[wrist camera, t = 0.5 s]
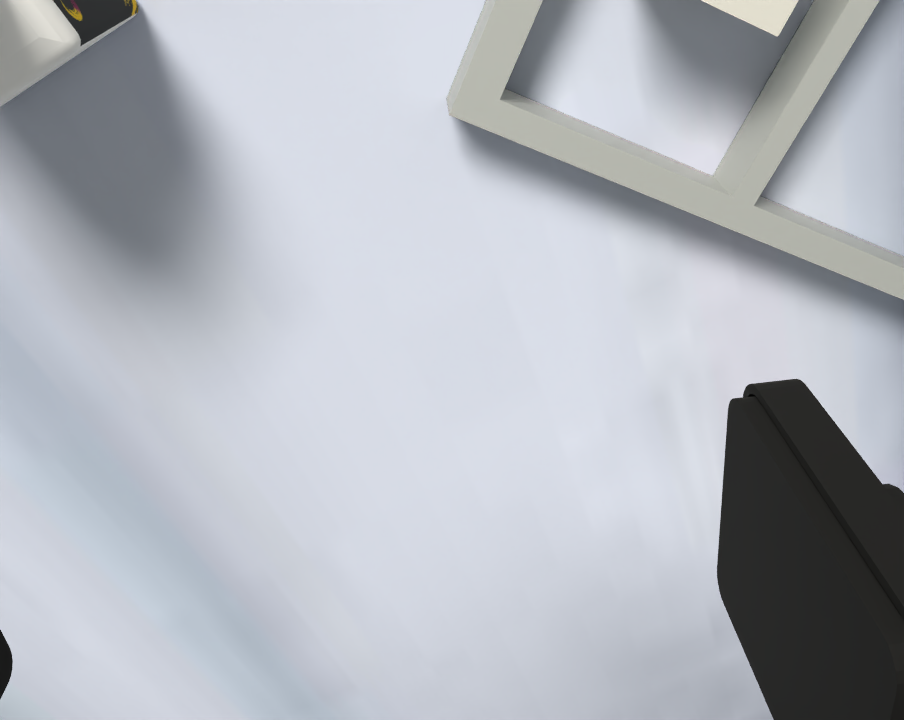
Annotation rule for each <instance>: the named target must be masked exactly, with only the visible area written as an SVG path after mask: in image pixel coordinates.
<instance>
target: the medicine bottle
mask: <svg viewBox="0 0 904 720" xmlns="http://www.w3.org/2000/svg"><path fill="white" fill-rule="evenodd" d="M137 13H138V4H137V2H136V0H0V107H1V106H3V105H4V104H6V103H7V102H9V101H10V100H12V99H13V98H15V97H16V96H18V95H19V94H21V93H22V92H23V91H25V90H26V89H28V88H29V87H31V86H32V85H34V84H35V83H37V82H38V81H40V80H41V79H43V78H44V77H46V76H47V75H49V74H50V73H52V72H53V71H55V70H56V69H58V68H59V67H61V66H62V65H63V64H65V63H66V62H68V61H69V60H71V59H72V58H74V57H75V56H77V55H78V54H80V53H81V52H83V51H84V50H86V49H87V48H89V47H90V46H92V45H93V44H95V43H96V42H98V41H99V40H101V39H102V38H103V37H105V36H106V35H108V34H109V33H111V32H112V31H114V30H115V29H117V28H118V27H120V26H121V25H123V24H124V23H126V22H127V21H129V20H130V19H132V18H133V17H135V15H136V14H137Z"/></svg>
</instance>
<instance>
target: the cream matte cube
mask: <svg viewBox="0 0 904 720" xmlns="http://www.w3.org/2000/svg"><path fill="white" fill-rule="evenodd" d="M701 1H703V2H705V3H707V4H710V5H712V6H714V7H716V8H718V9H720V10H722V11H724V12H726V13H728V14H731V15H733V16H735V17H737V18H739V19H741V20H743V21H745V22H747V23H750V24H752V25H754V26H756V27H758V28H760V29H762V30H764V31H766V32H769V33H771V34H773V35H775V36H777V37H778V36H779V34H780V32H781V30H782V29H783V27H784V25H785V23H786V22H787V20H788V18H789V16H790V15H791V13H792V11H793V9H794V8H795V6H796V4H797V2H798V1H799V0H701Z"/></svg>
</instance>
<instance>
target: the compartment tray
mask: <svg viewBox="0 0 904 720" xmlns="http://www.w3.org/2000/svg"><path fill="white" fill-rule="evenodd" d="M542 1H543V0H486V2H485V4H484V7H483V9H482V12H481V14H480V17H479V19H478V22H477V24H476V26H475V29H474V31H473V34H472V36H471V39H470V41H469V44H468V46H467V49H466V51H465V54H464V56H463V59H462V61H461V64H460V66H459V69H458V71H457V74H456V76H455V78H454V81H453V83H452V86H451V88H450V91H449V93H448V96H447V98H446V99H447V105H448V111H449V115H450V116H453V117H455V118H457V119H460V120H462V121H465V122H467V123H470V124H472V125H475V126H477V127H480V128H482V129H485V130H487V131H489V132H492V133H494V134H497V135H499V136H502V137H504V138H507V139H509V140H512V141H514V142H517V143H519V144H521V145H524V146H526V147H529V148H531V149H534V150H536V151H539V152H541V153H544V154H546V155H548V156H551V157H553V158H556V159H558V160H561V161H563V162H566V163H568V164H571V165H573V166H576V167H578V168H580V169H583V170H585V171H588V172H590V173H593V174H595V175H598V176H600V177H603V178H605V179H608V180H610V181H612V182H615V183H617V184H620V185H622V186H625V187H627V188H630V189H632V190H635V191H637V192H639V193H642V194H644V195H647V196H649V197H652V198H654V199H657V200H659V201H662V202H664V203H667V204H669V205H671V206H674V207H676V208H679V209H681V210H684V211H686V212H689V213H691V214H694V215H696V216H699V217H701V218H703V219H706V220H708V221H711V222H713V223H716V224H718V225H721V226H723V227H726V228H728V229H730V230H733V231H735V232H738V233H740V234H743V235H745V236H748V237H750V238H753V239H755V240H758V241H760V242H762V243H765V244H767V245H770V246H772V247H775V248H777V249H780V250H782V251H785V252H787V253H790V254H792V255H794V256H797V257H799V258H802V259H804V260H807V261H809V262H812V263H814V264H817V265H819V266H821V267H824V268H826V269H829V270H831V271H834V272H836V273H839V274H841V275H844V276H846V277H849V278H851V279H853V280H856V281H858V282H861V283H863V284H866V285H868V286H871V287H873V288H876V289H878V290H881V291H883V292H885V293H888V294H890V295H893V296H895V297H898V298H900V299H903V300H904V257H903V256H901V255H899V254H896V253H894V252H892V251H889V250H887V249H884V248H882V247H880V246H877V245H875V244H873V243H870V242H868V241H865V240H863V239H861V238H858V237H856V236H854V235H851V234H849V233H846V232H844V231H842V230H839V229H837V228H835V227H832V226H830V225H827V224H825V223H823V222H820V221H818V220H816V219H813V218H811V217H808V216H806V215H804V214H801V213H799V212H797V211H794V210H792V209H789V208H787V207H785V206H782V205H780V204H778V203H775V202H773V201H770V200H768V199H766V198H763V197H761V196H760V195H761V193H762V191H763V190H764V188H765V186H766V185H767V183H768V182H769V180H770V178H771V177H772V175H773V173H774V172H775V170H776V169H777V167H778V165H779V164H780V162H781V160H782V159H783V157H784V155H785V154H786V152H787V151H788V149H789V147H790V146H791V144H792V142H793V141H794V139H795V138H796V136H797V134H798V133H799V131H800V129H801V128H802V126H803V124H804V123H805V121H806V120H807V118H808V116H809V115H810V113H811V111H812V110H813V108H814V106H815V105H816V103H817V102H818V100H819V98H820V97H821V95H822V93H823V92H824V90H825V89H826V87H827V85H828V84H829V82H830V80H831V79H832V77H833V75H834V74H835V72H836V71H837V69H838V67H839V66H840V64H841V62H842V61H843V59H844V58H845V56H846V54H847V53H848V51H849V49H850V48H851V46H852V44H853V43H854V41H855V40H856V38H857V36H858V35H859V33H860V31H861V30H862V28H863V27H864V25H865V23H866V22H867V20H868V18H869V17H870V15H871V13H872V12H873V10H874V9H875V7H876V5H877V4H878V2H879V0H814V2H813V3H812V5H811V7H810V9H809V10H808V12H807V14H806V16H805V17H804V19H803V21H802V22H801V24H800V26H799V28H798V29H797V31H796V33H795V35H794V36H793V38H792V40H791V41H790V43H789V45H788V47H787V48H786V50H785V52H784V54H783V55H782V57H781V59H780V61H779V62H778V64H777V66H776V67H775V69H774V71H773V73H772V74H771V76H770V78H769V80H768V81H767V83H766V85H765V86H764V88H763V90H762V92H761V93H760V95H759V97H758V99H757V100H756V102H755V104H754V105H753V107H752V109H751V111H750V112H749V114H748V116H747V118H746V119H745V121H744V123H743V125H742V126H741V128H740V130H739V131H738V133H737V135H736V137H735V138H734V140H733V142H732V144H731V145H730V147H729V149H728V150H727V152H726V154H725V156H724V157H723V159H722V161H721V163H720V164H719V166H718V168H717V170H716V171H715V173H714V175H713V176H711V175H709V174H706V173H704V172H702V171H699V170H697V169H694V168H692V167H690V166H687V165H685V164H683V163H680V162H678V161H675V160H673V159H671V158H668V157H666V156H664V155H661V154H659V153H656V152H654V151H652V150H649V149H647V148H645V147H642V146H640V145H637V144H635V143H633V142H630V141H628V140H626V139H623V138H621V137H618V136H616V135H614V134H611V133H609V132H607V131H604V130H602V129H599V128H597V127H595V126H592V125H590V124H588V123H585V122H583V121H580V120H578V119H576V118H573V117H571V116H569V115H566V114H564V113H561V112H559V111H557V110H554V109H552V108H550V107H547V106H545V105H542V104H540V103H538V102H535V101H533V100H531V99H528V98H526V97H523V96H521V95H519V94H516V93H514V92H512V91H509V90H507V89H505V86H506V84H507V82H508V80H509V77H510V75H511V73H512V70H513V68H514V66H515V63H516V61H517V59H518V56H519V54H520V52H521V50H522V47H523V45H524V43H525V40H526V38H527V36H528V33H529V31H530V29H531V27H532V24H533V22H534V20H535V17H536V15H537V13H538V10H539V8H540V6H541V3H542Z"/></svg>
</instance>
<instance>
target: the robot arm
mask: <svg viewBox="0 0 904 720" xmlns="http://www.w3.org/2000/svg"><path fill="white" fill-rule="evenodd" d="M717 578H718V585H719V590H720V594H721V598H722V600H723V603H724V605H725V608H726V610H727V612H728V615H729V617H730V619H731V622H732V624H733V626H734V629H735V631H736V633H737V636H738V638H739V640H740V643H741V645H742V647H743V649H744V652H745V654H746V656H747V659H748V661H749V663H750V666H751V668H752V670H753V673H754V675H755V677H756V680H757V682H758V684H759V687H760V689H761V691H762V693H763V696H764V698H765V700H766V703H767V705H768V707H769V710H770V712H771V714H772V717H773V719H774V720H904V493H903V492H902V491H901V490H900V489H899V488H898V487H896V486H893V485H890V484H882V483H881V482H880V481H879V479H878V478H877V477H876V475H875V474H874V473H873V472H872V470H871V469H870V468H869V466H868V465H867V464H866V462H865V461H864V460H863V459H862V457H861V456H860V455H859V453H858V452H857V451H856V449H855V448H854V447H853V446H852V444H851V443H850V442H849V440H848V439H847V438H846V437H845V435H844V434H843V433H842V431H841V430H840V429H839V427H838V426H837V425H836V424H835V422H834V421H833V420H832V418H831V417H830V416H829V414H828V413H827V412H826V411H825V409H824V408H823V407H822V405H821V404H820V403H819V401H818V400H817V399H816V398H815V396H814V395H813V394H812V392H811V391H810V390H809V389H808V387H807V386H806V385H805V384H804V383H803V382H802V381H801V380H799V379H791V380H782V381H773V382H764V383H756V384H749V385H748V386H747V387H746V388H745V391H744V394H743V398H734V399H732V400H731V401H730V403H729V408H728V419H727V434H726V448H725V463H724V477H723V492H722V506H721V520H720V535H719V549H718V564H717ZM11 672H12V654H11V650H10V648H9V646H8V644H7V642H6V640H5V638H4V636H3V634H2V632H1V630H0V699H1V697H2V695H3V693H4V691H5V688H6V686H7V684H8V682H9V679H10V677H11Z"/></svg>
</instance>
